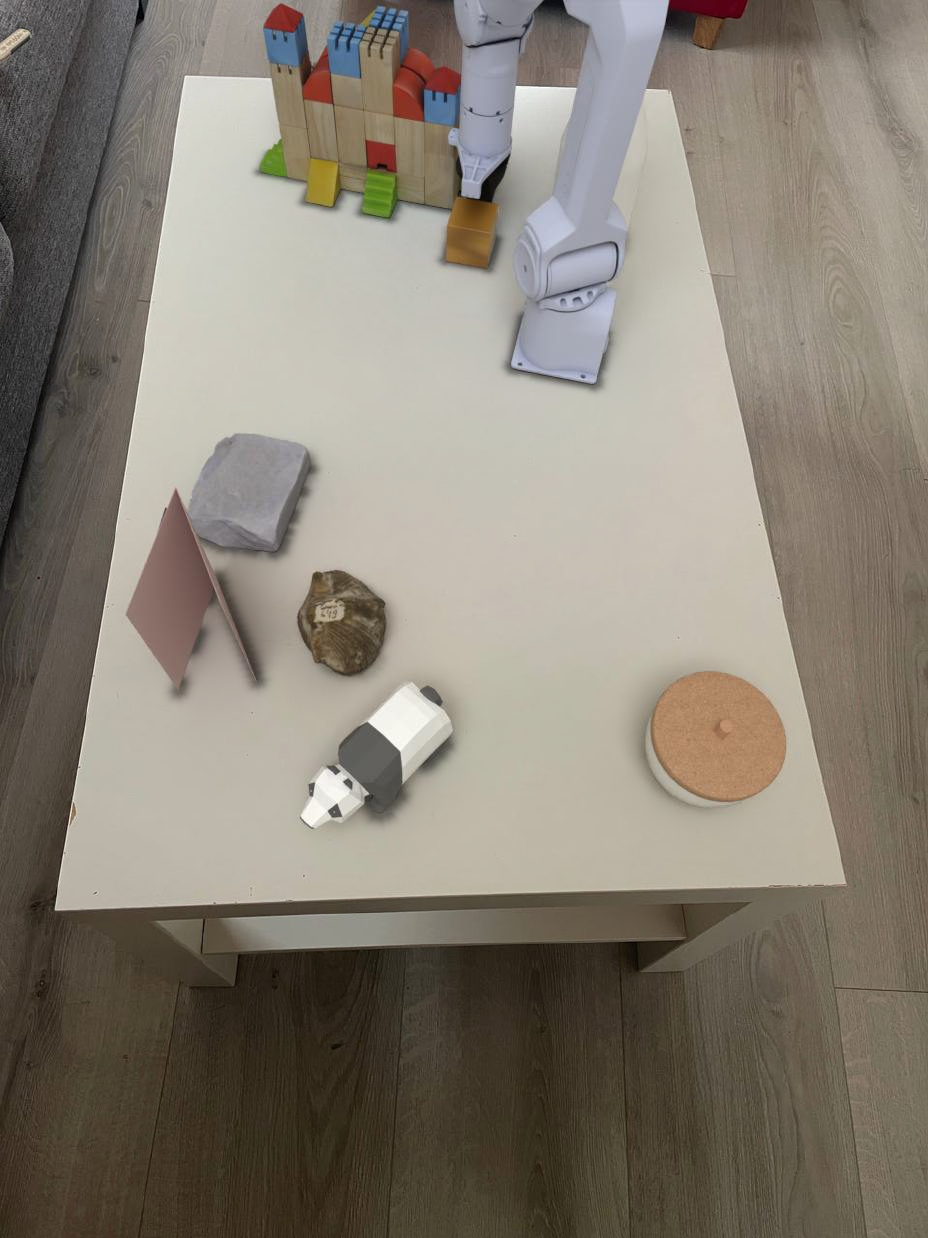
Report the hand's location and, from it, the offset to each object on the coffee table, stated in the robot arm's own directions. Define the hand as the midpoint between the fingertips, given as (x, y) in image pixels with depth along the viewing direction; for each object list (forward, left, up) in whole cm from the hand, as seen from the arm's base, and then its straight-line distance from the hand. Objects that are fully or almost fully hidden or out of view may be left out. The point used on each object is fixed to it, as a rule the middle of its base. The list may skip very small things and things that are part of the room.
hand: (479, 211), depth 102 cm
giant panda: (-6, +69, -2) cm, 69 cm away
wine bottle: (-13, -1, -2) cm, 13 cm away
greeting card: (+11, +60, -2) cm, 61 cm away
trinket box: (-32, +62, -2) cm, 69 cm away
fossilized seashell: (+1, +57, -2) cm, 57 cm away
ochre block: (0, +5, -2) cm, 5 cm away
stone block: (+14, +45, -2) cm, 47 cm away
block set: (+14, -5, -2) cm, 15 cm away
